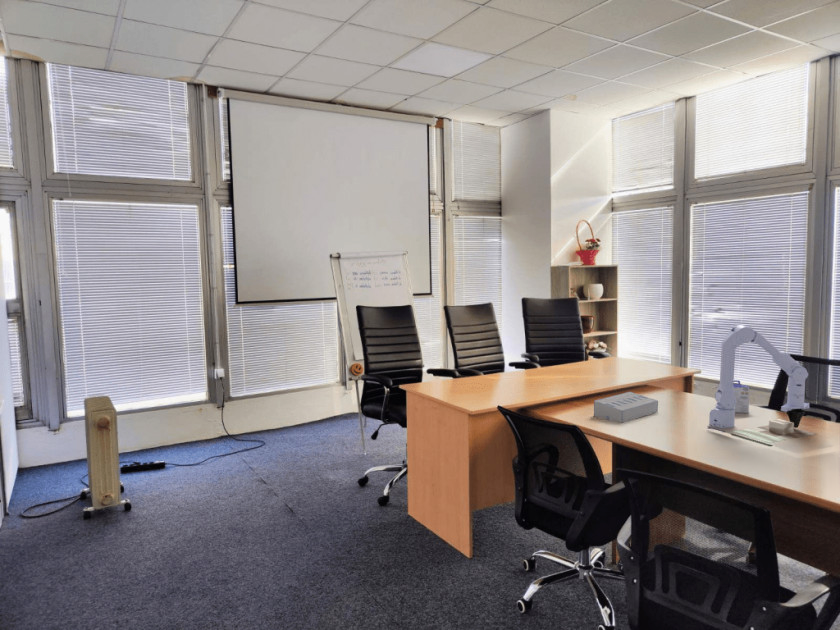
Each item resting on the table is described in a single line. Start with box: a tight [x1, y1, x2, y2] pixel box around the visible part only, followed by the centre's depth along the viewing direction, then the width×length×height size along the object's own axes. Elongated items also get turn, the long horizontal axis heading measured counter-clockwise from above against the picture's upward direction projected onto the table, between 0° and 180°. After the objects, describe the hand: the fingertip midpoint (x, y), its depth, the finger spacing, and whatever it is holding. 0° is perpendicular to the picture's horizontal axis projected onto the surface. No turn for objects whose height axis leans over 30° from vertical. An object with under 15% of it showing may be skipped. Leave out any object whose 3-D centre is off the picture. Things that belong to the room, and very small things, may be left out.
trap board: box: [731, 424, 818, 447], centre depth 223 cm, size 28×16×2 cm, turn 113°
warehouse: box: [593, 391, 659, 423], centre depth 259 cm, size 30×14×8 cm, turn 128°
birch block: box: [768, 418, 795, 434], centre depth 224 cm, size 6×6×4 cm
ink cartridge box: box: [733, 379, 750, 414], centre depth 262 cm, size 10×6×14 cm, turn 78°
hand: (794, 427), depth 227 cm, fingers closed
